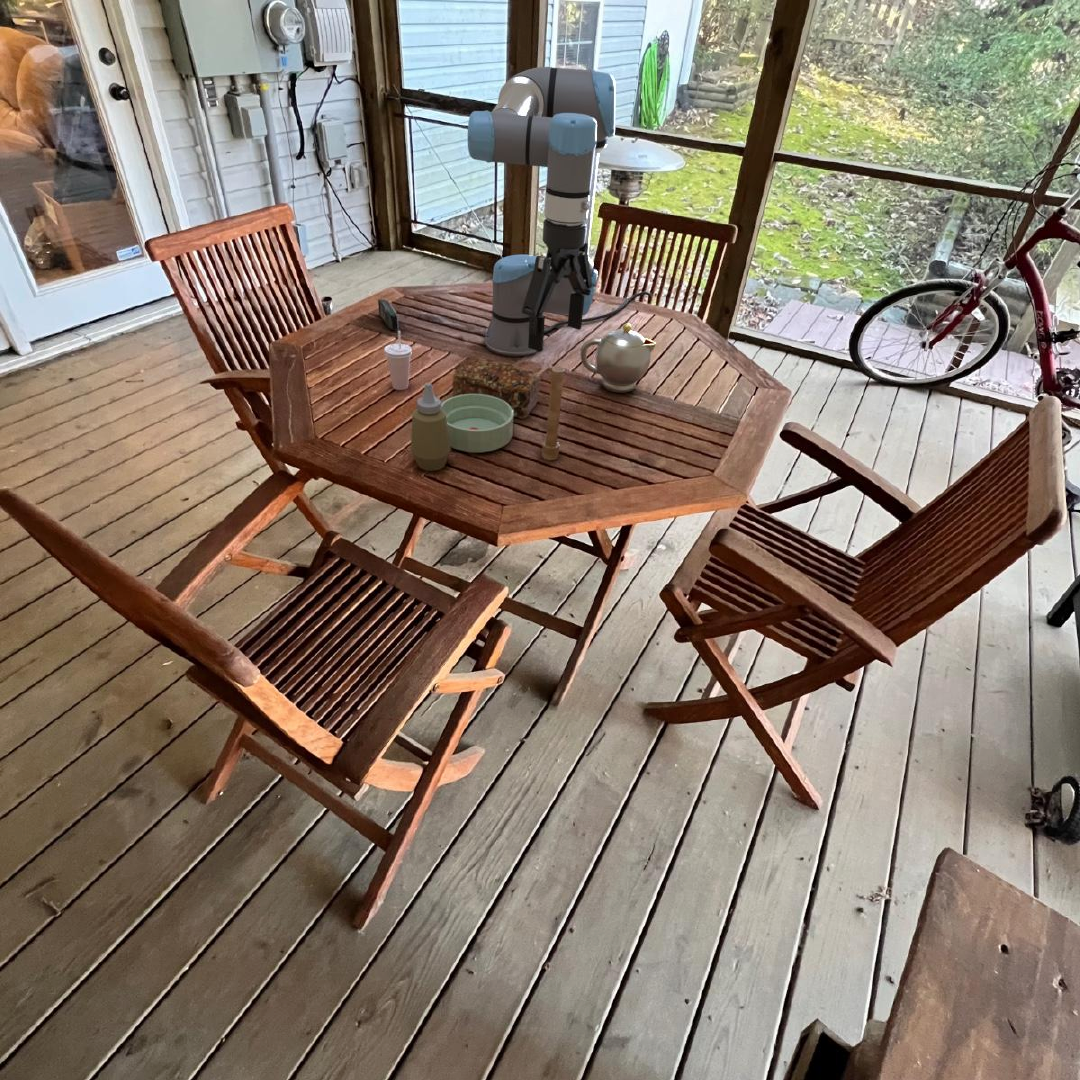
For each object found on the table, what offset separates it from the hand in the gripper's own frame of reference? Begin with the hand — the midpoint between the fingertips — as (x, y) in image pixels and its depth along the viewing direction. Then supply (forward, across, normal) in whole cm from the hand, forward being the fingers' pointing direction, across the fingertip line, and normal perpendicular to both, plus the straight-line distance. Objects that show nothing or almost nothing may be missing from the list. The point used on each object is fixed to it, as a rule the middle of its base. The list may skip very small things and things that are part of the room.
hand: (555, 338), depth 131 cm
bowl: (+26, -4, +16) cm, 31 cm away
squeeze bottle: (+26, -19, +16) cm, 36 cm away
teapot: (+26, +38, +5) cm, 46 cm away
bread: (+26, +10, +21) cm, 35 cm away
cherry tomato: (+23, -8, +13) cm, 28 cm away
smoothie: (+26, +2, +44) cm, 51 cm away
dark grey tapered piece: (+26, +28, +72) cm, 82 cm away
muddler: (+26, 0, -1) cm, 26 cm away
